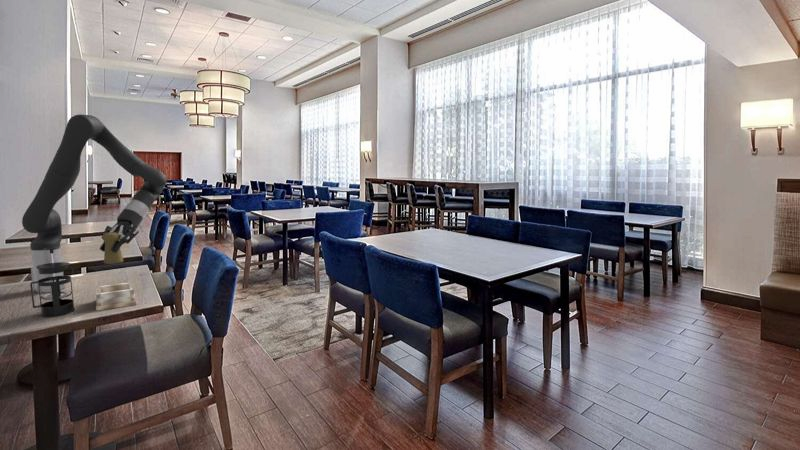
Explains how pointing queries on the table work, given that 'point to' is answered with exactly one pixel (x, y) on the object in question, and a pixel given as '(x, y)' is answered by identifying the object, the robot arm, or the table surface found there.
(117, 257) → the cork
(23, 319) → the table surface
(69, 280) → the french press
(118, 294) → the cruet holder
